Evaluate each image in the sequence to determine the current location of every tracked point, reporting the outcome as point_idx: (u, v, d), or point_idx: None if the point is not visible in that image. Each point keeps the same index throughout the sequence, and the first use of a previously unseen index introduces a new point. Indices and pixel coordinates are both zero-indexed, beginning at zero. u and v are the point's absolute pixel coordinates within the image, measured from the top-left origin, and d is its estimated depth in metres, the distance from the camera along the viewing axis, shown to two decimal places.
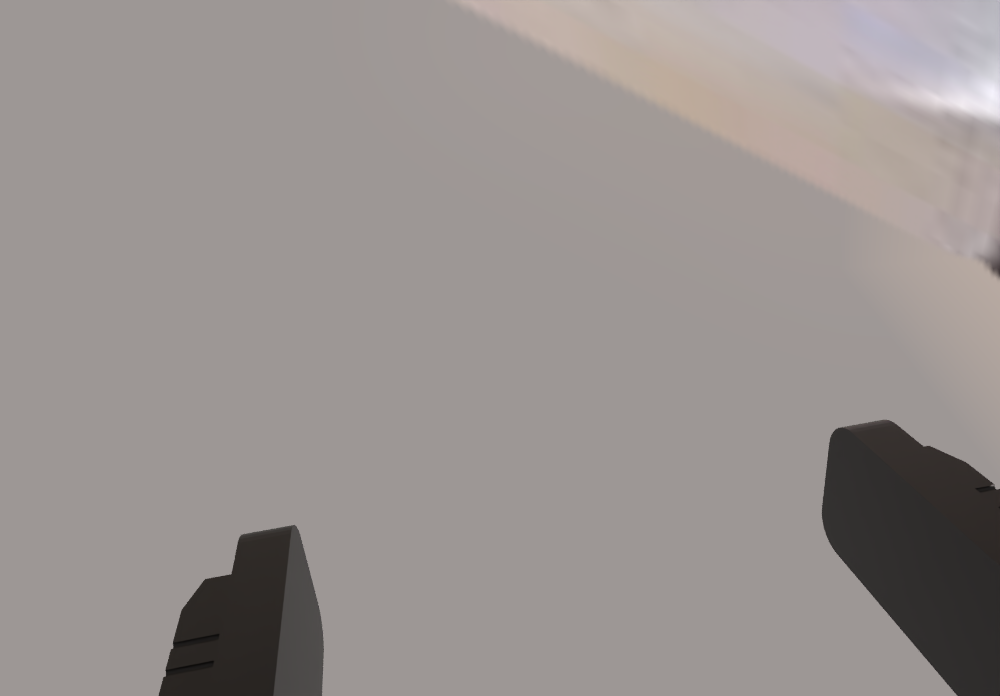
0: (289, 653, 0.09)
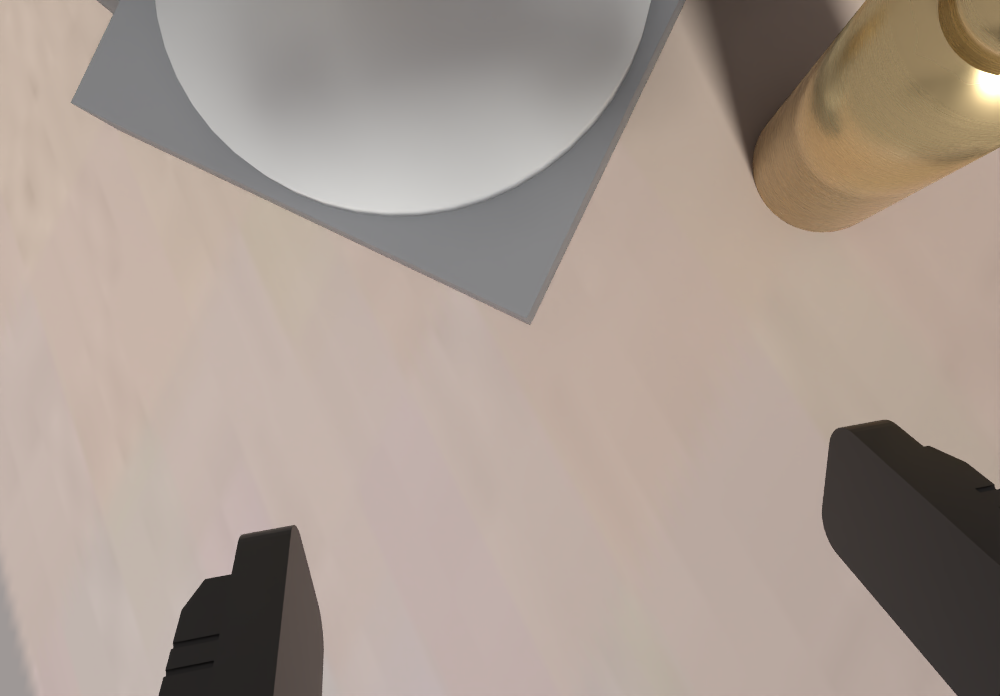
0: (289, 653, 0.09)
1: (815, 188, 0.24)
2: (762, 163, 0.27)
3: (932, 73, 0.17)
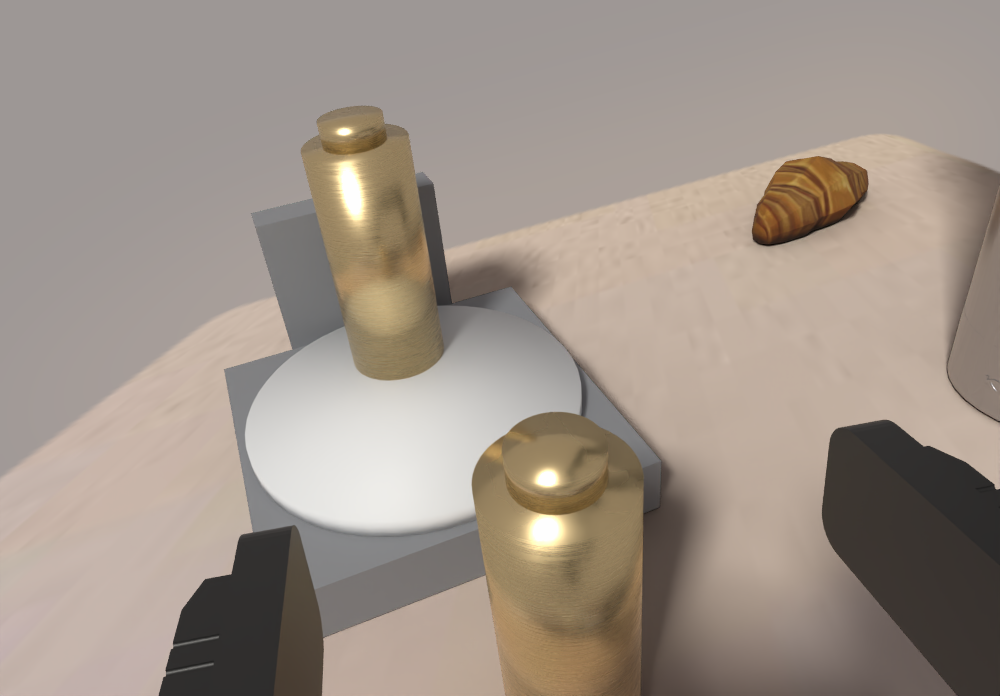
0: (289, 653, 0.09)
1: None
2: None
3: (483, 479, 0.23)
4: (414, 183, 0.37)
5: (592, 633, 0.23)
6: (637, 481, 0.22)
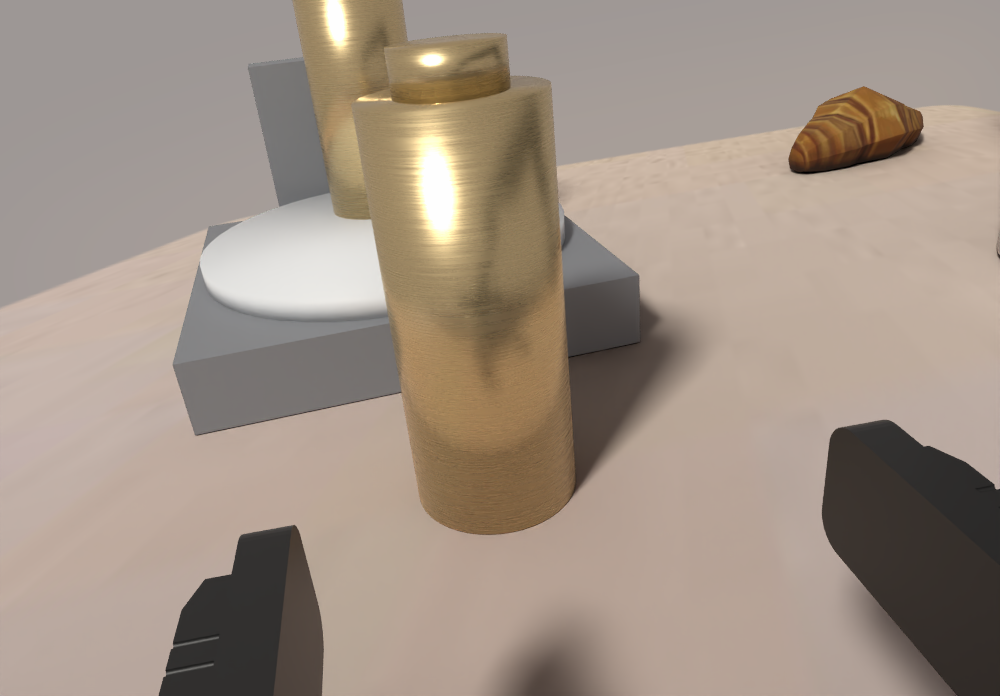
0: (289, 653, 0.09)
1: None
2: None
3: (369, 98, 0.20)
4: None
5: (482, 281, 0.19)
6: (541, 88, 0.19)
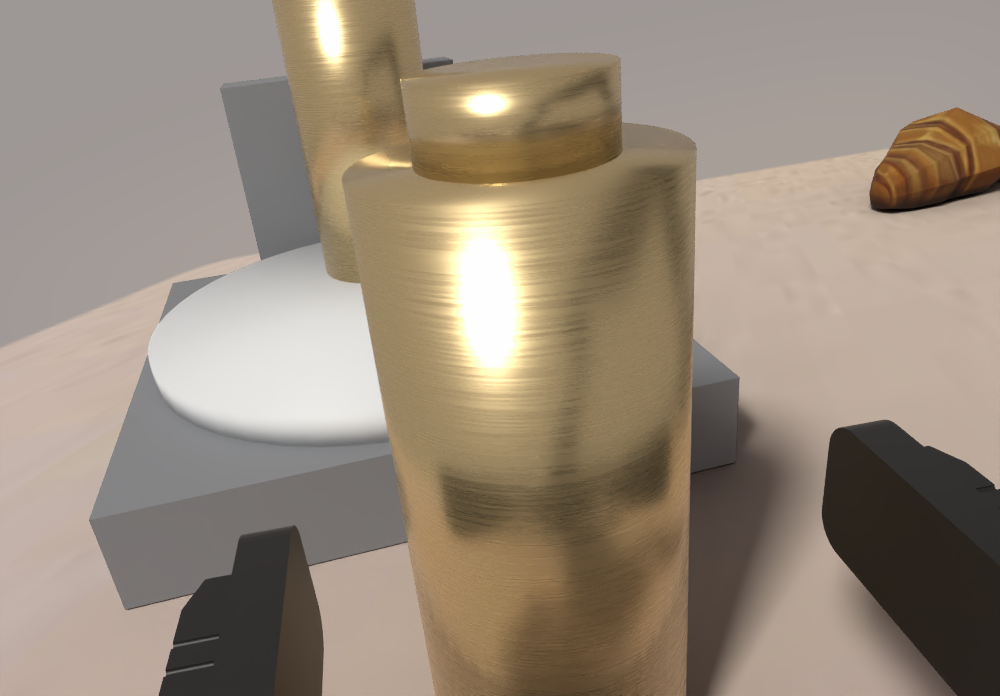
0: (289, 653, 0.09)
1: None
2: None
3: (373, 163, 0.12)
4: None
5: (573, 493, 0.11)
6: (682, 153, 0.10)
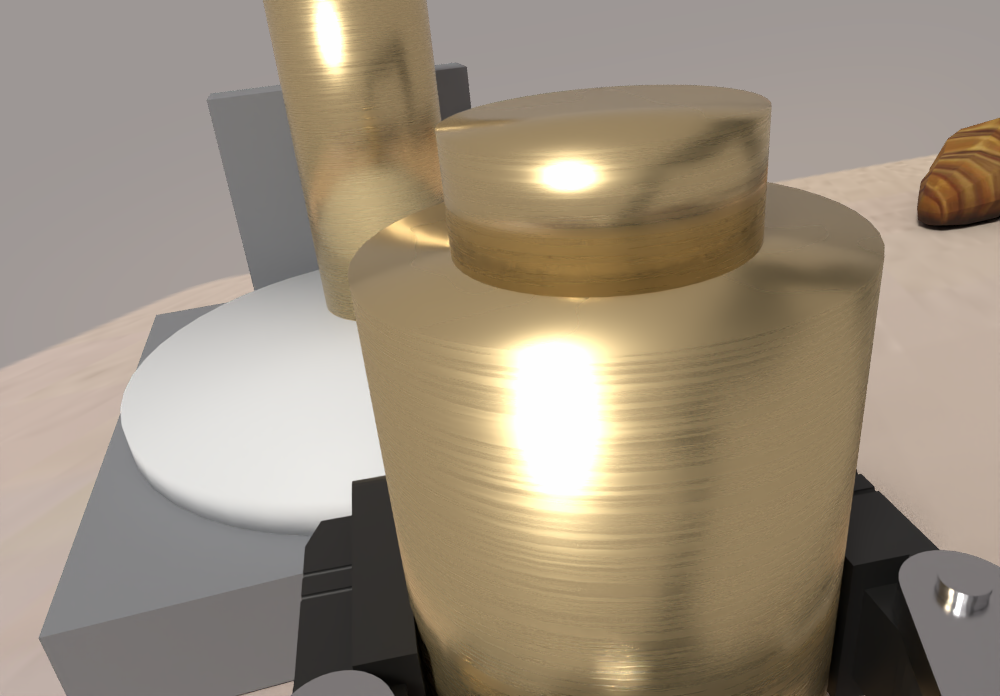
0: None
1: None
2: None
3: (392, 246, 0.08)
4: None
5: None
6: (860, 241, 0.07)
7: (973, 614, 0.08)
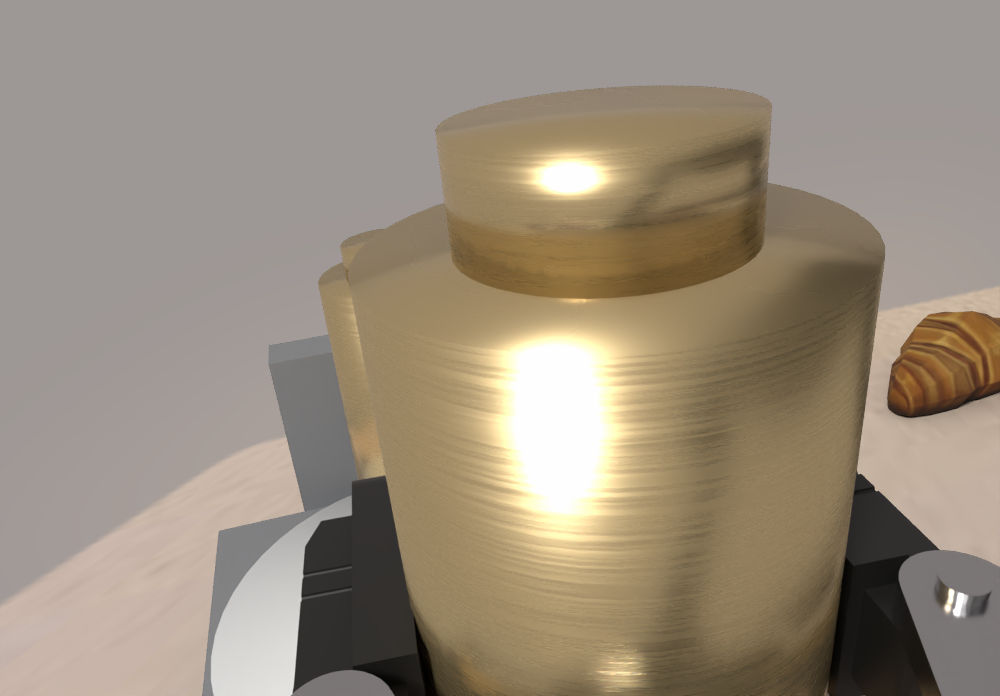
0: None
1: None
2: None
3: (393, 247, 0.08)
4: None
5: None
6: (861, 242, 0.07)
7: (973, 614, 0.08)
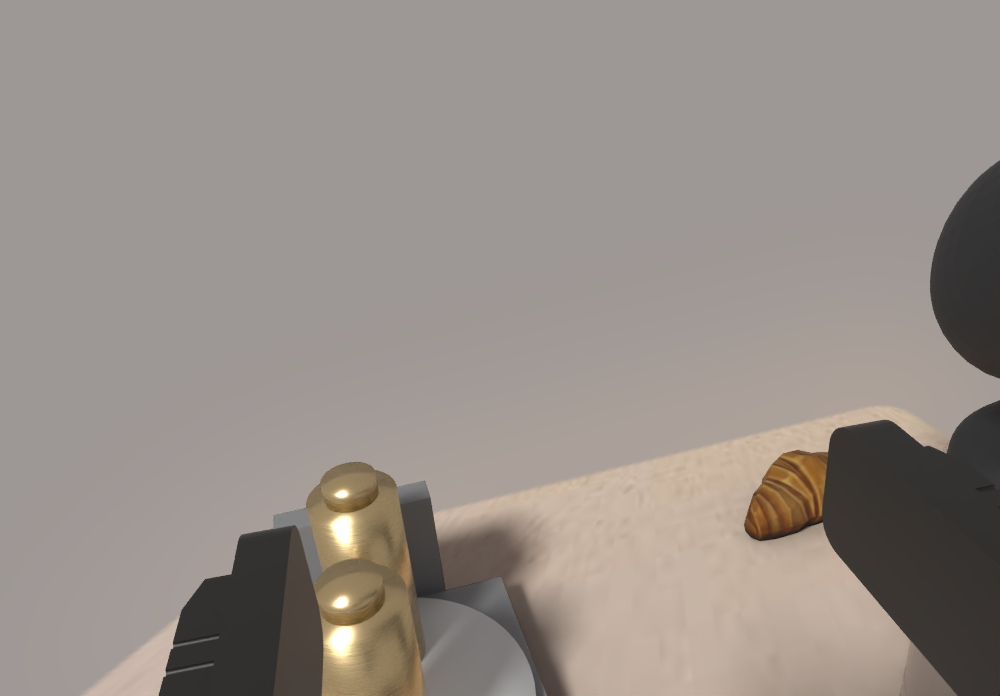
0: (289, 653, 0.09)
1: None
2: None
3: None
4: (399, 530, 0.43)
5: None
6: (399, 609, 0.35)
7: None
